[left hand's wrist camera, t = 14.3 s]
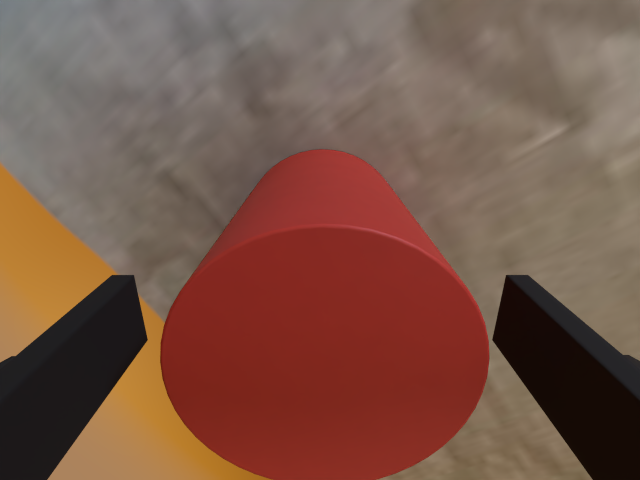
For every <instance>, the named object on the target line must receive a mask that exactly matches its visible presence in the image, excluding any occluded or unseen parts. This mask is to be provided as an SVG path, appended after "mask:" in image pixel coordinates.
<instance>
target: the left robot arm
mask: <svg viewBox="0 0 640 480" xmlns="http://www.w3.org/2000/svg"><path fill="white" fill-rule="evenodd" d="M147 340H148V339H147V335H146V330H145V325H144V321H143V316H142V311H141V307H140V302H139V297H138V292H137V288H136V283H135V278H134V275H112V276H110V277H109V278H108V279H107V280H106V281H105V282H103V283H102V284H101V285H100V286H99V287H97V288H96V289H95V290H94V291H93V292H91V293H90V294H89V295H88V296H87V297H86V298H84V299H83V300H82V301H81V302H80V303H78V304H77V305H76V306H75V307H74V308H72V309H71V310H70V311H69V312H68V313H67V314H65V315H64V316H63V317H62V318H61V319H59V320H58V321H57V322H56V323H55V324H53V325H52V326H51V327H50V328H49V329H48V330H46V331H45V332H44V333H43V334H42V335H40V336H39V337H38V338H37V339H36V340H34V341H33V342H32V343H31V344H30V345H28V346H27V347H26V348H25V349H24V350H22V351H21V352H20V353H19V354H18V355H17V356H11V357H10V358H8V359H6V360H4V361H2V362H1V363H0V480H47V479H48V478H49V476H50V475H51V474H52V472H53V471H54V469H55V468H56V467H57V465H58V464H59V462H60V461H61V460H62V458H63V457H64V455H65V454H66V453H67V451H68V450H69V449H70V447H71V446H72V444H73V443H74V442H75V440H76V439H77V437H78V436H79V435H80V433H81V432H82V430H83V429H84V428H85V426H86V425H87V424H88V422H89V421H90V419H91V418H92V417H93V415H94V414H95V412H96V411H97V410H98V408H99V407H100V405H101V404H102V403H103V401H104V400H105V398H106V397H107V396H108V394H109V393H110V392H111V390H112V389H113V387H114V386H115V385H116V383H117V382H118V380H119V379H120V378H121V376H122V375H123V373H124V372H125V371H126V369H127V368H128V366H129V365H130V364H131V362H132V361H133V360H134V358H135V357H136V355H137V354H138V353H139V351H140V350H141V348H142V347H143V346H144V344H145V343H146V342H147ZM492 340H493V342H494V343H495V344H496V346H497V347H498V348H499V350H500V351H501V353H502V354H503V355H504V357H505V358H506V360H507V361H508V362H509V364H510V365H511V367H512V368H513V369H514V371H515V372H516V374H517V375H518V376H519V378H520V379H521V380H522V382H523V383H524V385H525V386H526V387H527V389H528V390H529V392H530V393H531V394H532V396H533V397H534V399H535V400H536V401H537V403H538V404H539V405H540V407H541V408H542V410H543V411H544V412H545V414H546V415H547V417H548V418H549V419H550V421H551V422H552V424H553V425H554V426H555V428H556V429H557V431H558V432H559V433H560V435H561V436H562V437H563V439H564V440H565V442H566V443H567V444H568V446H569V447H570V449H571V450H572V451H573V453H574V454H575V456H576V457H577V458H578V460H579V461H580V463H581V464H582V465H583V467H584V468H585V469H586V471H587V472H588V474H589V475H590V476H591V478H592V479H593V480H640V361H639V360H637V359H635V358H633V357H631V356H630V355H622V354H621V353H620V352H619V351H618V350H616V349H615V348H614V347H613V346H612V345H610V344H609V343H608V342H607V341H606V340H604V339H603V338H602V337H601V336H600V335H598V334H597V333H596V332H595V331H594V330H593V329H591V328H590V327H589V326H588V325H587V324H585V323H584V322H583V321H582V320H581V319H579V318H578V317H577V316H576V315H575V314H574V313H572V312H571V311H570V310H569V309H568V308H566V307H565V306H564V305H563V304H562V303H560V302H559V301H558V300H557V299H556V298H555V297H553V296H552V295H551V294H550V293H549V292H547V291H546V290H545V289H544V288H543V287H541V286H540V285H539V284H538V283H537V282H535V281H534V280H533V279H532V278H531V277H530V276H528V275H506V278H505V283H504V288H503V292H502V297H501V302H500V307H499V311H498V316H497V321H496V325H495V330H494V335H493V339H492Z"/></svg>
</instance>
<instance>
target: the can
mask: <svg viewBox="0 0 640 480" xmlns="http://www.w3.org/2000/svg"><path fill="white" fill-rule="evenodd" d="M160 363H161V370H162V377H163V381H164V384H165V388H166V391H167V394H168V397H169V399H170V401H171V403H172V405H173V407H174V409H175V411H176V412H177V414H178V415H179V417H180V418H181V420H182V421H183V423H184V424H185V425H186V426H187V428H188V429H189V430H190V431H191V432H192V433H193V434H194V435H195V437H196V438H198V439H199V440H200V441H201V442H202V443H203V444H204V445H205V446H207V447H208V448H209V449H210V450H212V451H213V452H215V453H216V454H217V455H219V456H220V457H222V458H223V459H225V460H227V461H229V462H231V463H232V464H234V465H236V466H238V467H240V468H242V469H245V470H247V471H249V472H252V473H254V474H257V475H260V476H263V477H266V478H269V479H273V480H376V479H380V478H383V477H386V476H389V475H392V474H395V473H398V472H400V471H402V470H404V469H407V468H409V467H411V466H413V465H415V464H417V463H418V462H420V461H422V460H424V459H426V458H427V457H429V456H430V455H432V454H433V453H434V452H436V451H437V450H439V449H440V448H441V447H443V446H444V445H445V444H446V443H447V442H448V441H449V440H450V439H451V438H452V437H454V436H455V435H456V433H457V432H458V431H459V430H460V429H461V428H462V426H463V425H464V424H465V423H466V422H467V420H468V419H469V417H470V415H471V414H472V412H473V411H474V409H475V408H476V405H477V403H478V401H479V399H480V397H481V395H482V392H483V389H484V386H485V382H486V379H487V374H488V366H489V340H488V335H487V331H486V326H485V322H484V319H483V317H482V314H481V312H480V309H479V307H478V305H477V303H476V301H475V300H474V298H473V296H472V295H471V293H470V291H469V290H468V288H467V287H466V286H465V284H464V283H463V282H462V280H461V279H460V278H459V276H458V275H457V274H456V272H455V271H454V270H453V268H452V267H451V266H450V265H449V263H448V262H447V261H446V259H445V258H444V257H443V255H442V254H441V253H440V251H439V250H438V249H437V247H436V246H435V245H434V244H433V242H432V241H431V240H430V238H429V237H428V236H427V234H426V233H425V232H424V230H423V229H422V228H421V226H420V225H419V224H418V223H417V221H416V220H415V219H414V217H413V216H412V215H411V213H410V212H409V211H408V209H407V208H406V207H405V205H404V204H403V203H402V202H401V200H400V199H399V198H398V196H397V195H396V194H395V192H394V191H393V190H392V188H391V187H390V186H389V184H388V183H387V182H386V181H385V179H384V178H383V177H382V176H381V175H380V173H379V172H378V171H376V170H375V169H374V168H373V167H372V166H371V165H369V164H368V163H366V162H365V161H363V160H361V159H359V158H357V157H355V156H353V155H350V154H347V153H344V152H340V151H335V150H323V149H321V150H310V151H306V152H301V153H298V154H295V155H292V156H290V157H288V158H286V159H284V160H282V161H281V162H279V163H278V164H276V165H275V166H274V167H272V168H271V169H270V170H269V171H268V172H267V173H266V174H265V175H264V176H263V178H262V179H261V180H260V181H259V183H258V184H257V185H256V187H255V188H254V190H253V191H252V192H251V194H250V195H249V197H248V198H247V199H246V201H245V202H244V203H243V205H242V206H241V208H240V209H239V210H238V212H237V213H236V215H235V216H234V217H233V219H232V220H231V222H230V223H229V224H228V226H227V227H226V228H225V230H224V231H223V233H222V234H221V235H220V237H219V238H218V240H217V241H216V242H215V244H214V245H213V247H212V248H211V249H210V251H209V252H208V253H207V255H206V256H205V258H204V259H203V260H202V262H201V263H200V265H199V266H198V267H197V269H196V270H195V272H194V273H193V274H192V276H191V277H190V278H189V280H188V281H187V283H186V284H185V285H184V287H183V288H182V290H181V291H180V293H179V294H178V296H177V298H176V300H175V301H174V303H173V305H172V307H171V309H170V311H169V314H168V317H167V319H166V322H165V325H164V329H163V334H162V339H161V356H160Z"/></svg>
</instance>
